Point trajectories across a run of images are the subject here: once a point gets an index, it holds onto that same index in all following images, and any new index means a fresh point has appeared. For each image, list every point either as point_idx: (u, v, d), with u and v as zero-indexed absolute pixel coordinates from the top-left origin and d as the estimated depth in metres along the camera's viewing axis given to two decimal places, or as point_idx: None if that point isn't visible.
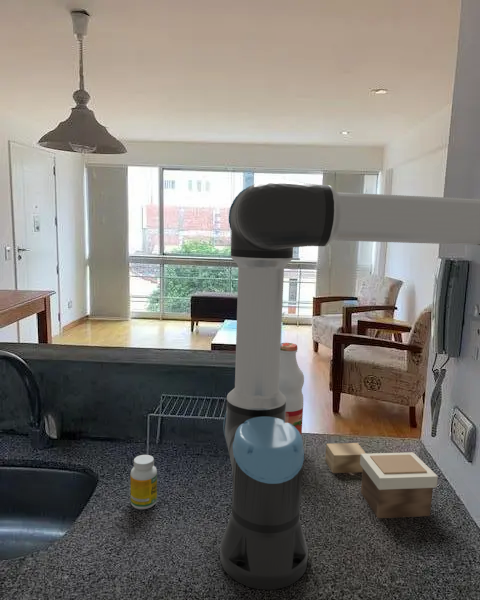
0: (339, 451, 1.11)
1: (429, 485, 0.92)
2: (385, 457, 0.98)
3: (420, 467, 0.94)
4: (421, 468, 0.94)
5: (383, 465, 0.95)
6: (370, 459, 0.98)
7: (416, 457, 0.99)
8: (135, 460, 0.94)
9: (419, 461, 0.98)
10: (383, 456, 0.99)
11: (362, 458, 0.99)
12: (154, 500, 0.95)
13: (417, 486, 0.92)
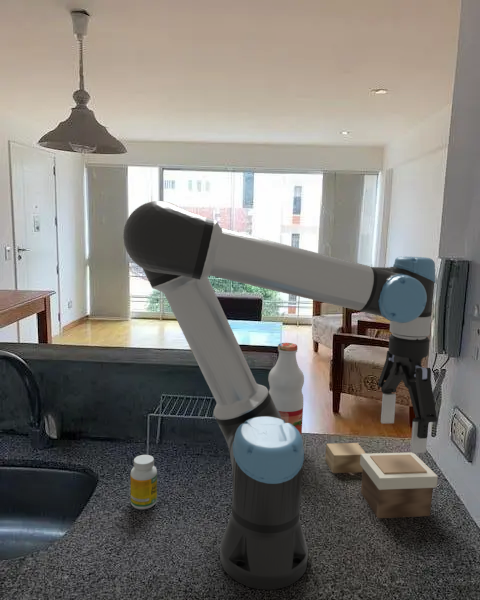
0: (339, 451, 1.11)
1: (429, 485, 0.92)
2: (385, 457, 0.98)
3: (420, 467, 0.94)
4: (421, 468, 0.94)
5: (383, 465, 0.95)
6: (370, 459, 0.98)
7: (416, 457, 0.99)
8: (135, 460, 0.94)
9: (419, 461, 0.98)
10: (383, 456, 0.99)
11: (362, 458, 0.99)
12: (154, 500, 0.95)
13: (417, 486, 0.92)
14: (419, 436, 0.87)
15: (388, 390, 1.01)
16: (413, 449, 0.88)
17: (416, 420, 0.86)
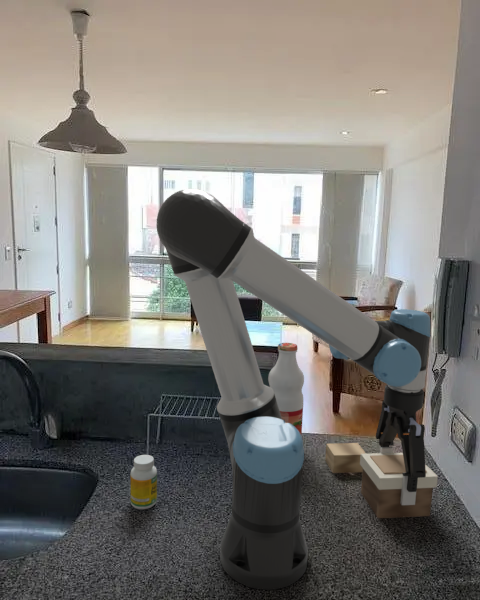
0: (339, 451, 1.11)
1: (429, 485, 0.92)
2: (385, 457, 0.98)
3: None
4: None
5: (383, 465, 0.95)
6: (370, 459, 0.98)
7: None
8: (135, 460, 0.94)
9: None
10: (383, 456, 0.99)
11: (362, 458, 0.99)
12: (154, 500, 0.95)
13: (417, 486, 0.92)
14: (408, 490, 0.90)
15: (386, 443, 1.01)
16: (403, 501, 0.91)
17: (406, 475, 0.89)
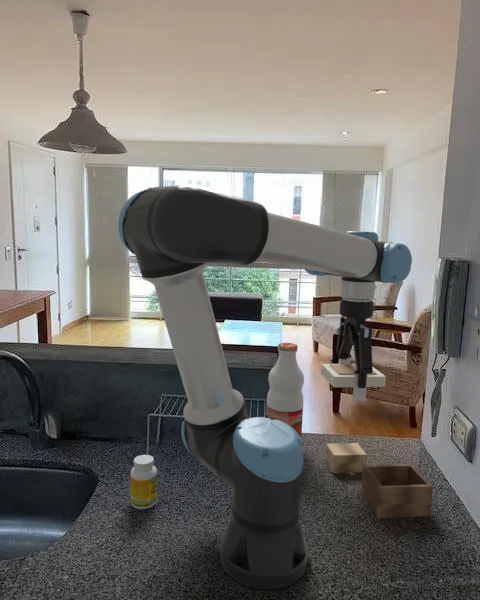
0: (339, 451, 1.11)
1: (378, 384, 1.05)
2: (342, 365, 1.11)
3: None
4: None
5: (339, 369, 1.08)
6: (329, 367, 1.10)
7: None
8: (135, 460, 0.94)
9: None
10: (341, 365, 1.11)
11: (322, 367, 1.12)
12: (154, 500, 0.95)
13: (367, 385, 1.04)
14: (359, 386, 1.02)
15: (344, 355, 1.14)
16: (354, 398, 1.04)
17: (356, 372, 1.02)
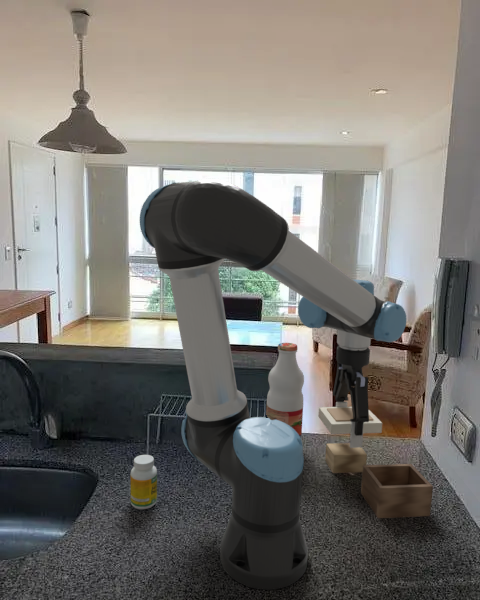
0: (339, 451, 1.11)
1: (375, 430, 1.06)
2: (339, 409, 1.13)
3: None
4: (369, 417, 1.08)
5: (336, 415, 1.09)
6: (326, 411, 1.12)
7: None
8: (135, 460, 0.94)
9: (369, 412, 1.12)
10: (338, 408, 1.13)
11: (320, 410, 1.14)
12: (154, 500, 0.95)
13: (364, 431, 1.06)
14: (355, 433, 1.04)
15: (341, 398, 1.16)
16: (351, 444, 1.05)
17: (352, 420, 1.03)
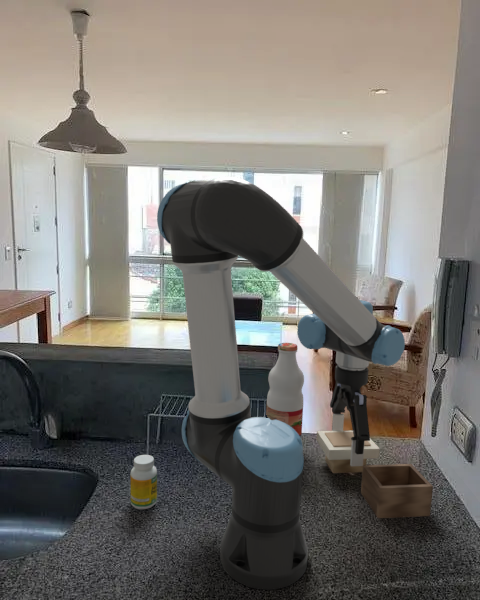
0: None
1: (372, 456, 1.07)
2: (337, 434, 1.14)
3: (366, 441, 1.10)
4: (367, 442, 1.09)
5: (334, 440, 1.10)
6: (324, 435, 1.13)
7: None
8: (135, 460, 0.94)
9: None
10: (336, 433, 1.14)
11: (318, 435, 1.14)
12: (154, 500, 0.95)
13: None
14: (356, 452, 1.03)
15: (337, 411, 1.18)
16: (352, 463, 1.04)
17: (353, 439, 1.02)
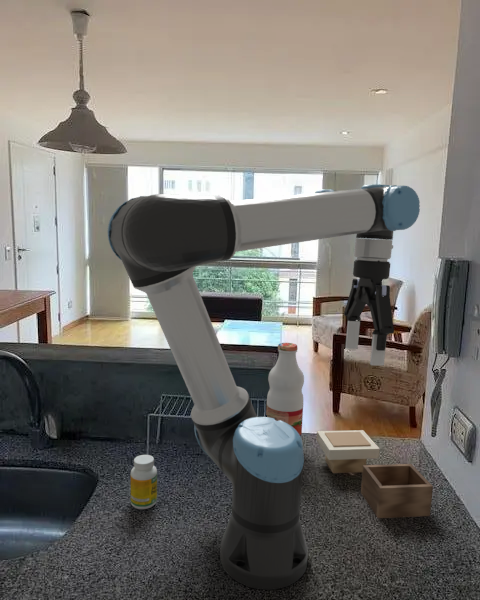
0: None
1: (372, 456, 1.07)
2: (337, 434, 1.14)
3: (366, 441, 1.10)
4: (367, 442, 1.09)
5: (334, 440, 1.10)
6: (324, 435, 1.13)
7: (364, 434, 1.15)
8: (135, 460, 0.94)
9: (366, 437, 1.13)
10: (336, 433, 1.14)
11: (318, 435, 1.14)
12: (154, 500, 0.95)
13: (362, 457, 1.07)
14: (378, 348, 0.94)
15: (353, 317, 1.08)
16: (372, 361, 0.95)
17: (375, 332, 0.93)
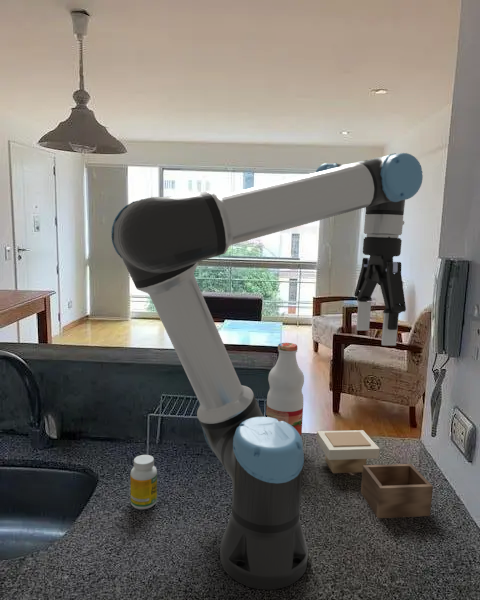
0: None
1: (372, 456, 1.07)
2: (337, 434, 1.14)
3: (366, 441, 1.10)
4: (367, 442, 1.09)
5: (334, 440, 1.10)
6: (324, 435, 1.13)
7: (364, 434, 1.15)
8: (135, 460, 0.94)
9: (366, 437, 1.13)
10: (336, 433, 1.14)
11: (318, 435, 1.14)
12: (154, 500, 0.95)
13: (362, 457, 1.07)
14: (389, 327, 0.90)
15: (364, 298, 1.04)
16: (384, 341, 0.91)
17: (386, 311, 0.89)
